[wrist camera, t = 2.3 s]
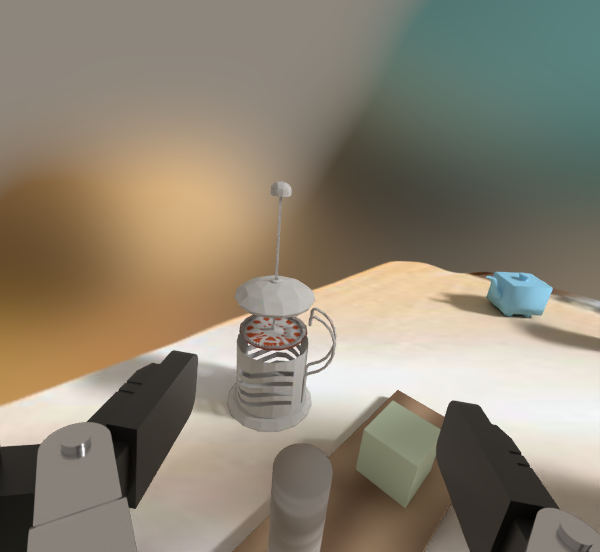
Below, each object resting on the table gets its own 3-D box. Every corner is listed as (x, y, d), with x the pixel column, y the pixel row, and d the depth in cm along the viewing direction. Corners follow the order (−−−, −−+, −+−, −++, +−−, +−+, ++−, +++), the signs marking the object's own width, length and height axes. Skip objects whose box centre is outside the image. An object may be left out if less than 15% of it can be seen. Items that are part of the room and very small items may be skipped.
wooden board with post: (481, 448, 38) (526, 334, 32) (323, 734, 19) (361, 591, 14) (395, 397, 43) (421, 293, 38) (213, 580, 25) (207, 434, 19)
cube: (430, 470, 33) (443, 431, 31) (405, 508, 30) (417, 467, 28) (383, 438, 36) (392, 400, 34) (355, 469, 33) (363, 429, 31)
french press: (241, 365, 47) (243, 168, 37) (329, 379, 46) (357, 180, 36) (214, 423, 38) (207, 185, 28) (323, 442, 37) (357, 201, 27)
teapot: (484, 317, 64) (496, 279, 61) (468, 300, 70) (479, 265, 67) (547, 320, 65) (563, 282, 62) (527, 303, 71) (540, 268, 67)
